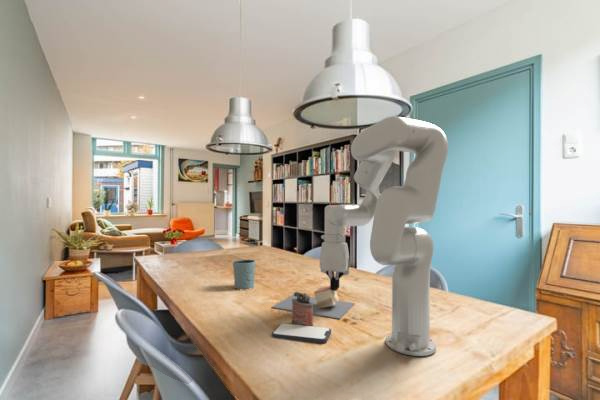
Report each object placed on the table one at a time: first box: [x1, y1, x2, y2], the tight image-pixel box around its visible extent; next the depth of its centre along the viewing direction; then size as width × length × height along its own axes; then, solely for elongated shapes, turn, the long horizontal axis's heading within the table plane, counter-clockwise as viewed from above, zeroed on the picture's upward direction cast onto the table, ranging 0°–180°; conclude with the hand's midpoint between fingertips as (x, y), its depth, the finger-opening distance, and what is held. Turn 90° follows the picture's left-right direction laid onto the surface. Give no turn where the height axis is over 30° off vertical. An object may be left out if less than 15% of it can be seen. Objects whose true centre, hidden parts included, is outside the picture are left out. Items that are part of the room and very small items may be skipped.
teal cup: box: [232, 259, 256, 290], centre depth 141 cm, size 10×10×12 cm
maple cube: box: [313, 285, 340, 308], centre depth 113 cm, size 6×6×6 cm
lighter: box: [291, 291, 314, 326], centre depth 96 cm, size 8×3×10 cm, turn 47°
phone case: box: [271, 323, 332, 345], centre depth 90 cm, size 9×2×16 cm
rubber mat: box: [271, 294, 356, 320], centre depth 115 cm, size 18×26×1 cm
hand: (334, 289), depth 112 cm, fingers closed
